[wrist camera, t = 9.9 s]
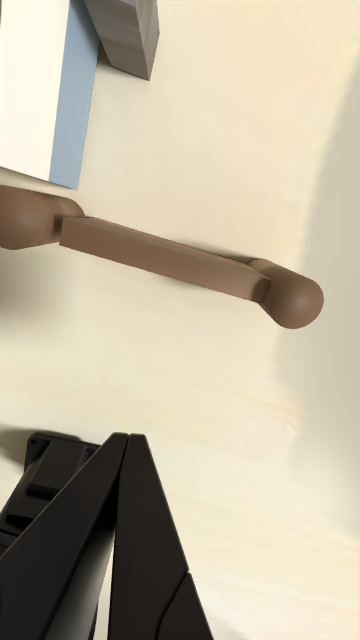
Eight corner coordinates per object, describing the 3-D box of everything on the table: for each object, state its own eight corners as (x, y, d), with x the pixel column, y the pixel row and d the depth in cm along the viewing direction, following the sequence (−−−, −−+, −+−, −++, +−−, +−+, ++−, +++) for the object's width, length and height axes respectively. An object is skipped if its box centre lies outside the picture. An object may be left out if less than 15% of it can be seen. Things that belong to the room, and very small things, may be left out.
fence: (268, 299, 18) (308, 334, 13) (43, 233, 17) (-26, 239, 11) (349, 107, 15) (458, 36, 9) (70, -3, 13) (-11, -174, 7)
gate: (51, 181, 15) (-7, 164, 10) (89, -135, 11) (23, -406, 6) (83, 191, 15) (40, 178, 11) (131, -116, 11) (99, -363, 7)
